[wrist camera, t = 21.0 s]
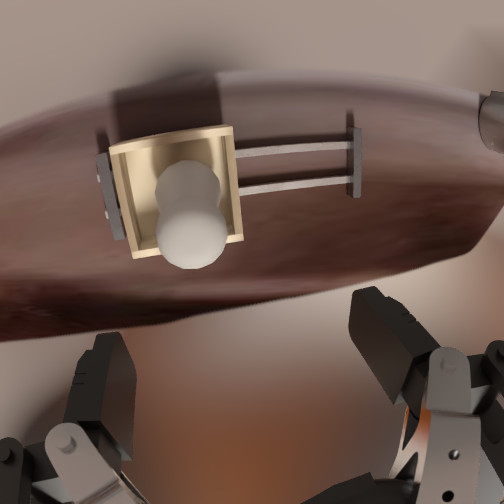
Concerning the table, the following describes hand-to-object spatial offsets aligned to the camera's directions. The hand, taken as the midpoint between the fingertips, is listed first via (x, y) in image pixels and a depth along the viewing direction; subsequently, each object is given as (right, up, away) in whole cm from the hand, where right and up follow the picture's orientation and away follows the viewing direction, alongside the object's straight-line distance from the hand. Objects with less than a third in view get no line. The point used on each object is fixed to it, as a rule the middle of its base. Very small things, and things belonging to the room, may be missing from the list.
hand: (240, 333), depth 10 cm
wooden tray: (-7, +10, +21) cm, 24 cm away
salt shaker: (-6, +9, +19) cm, 22 cm away
